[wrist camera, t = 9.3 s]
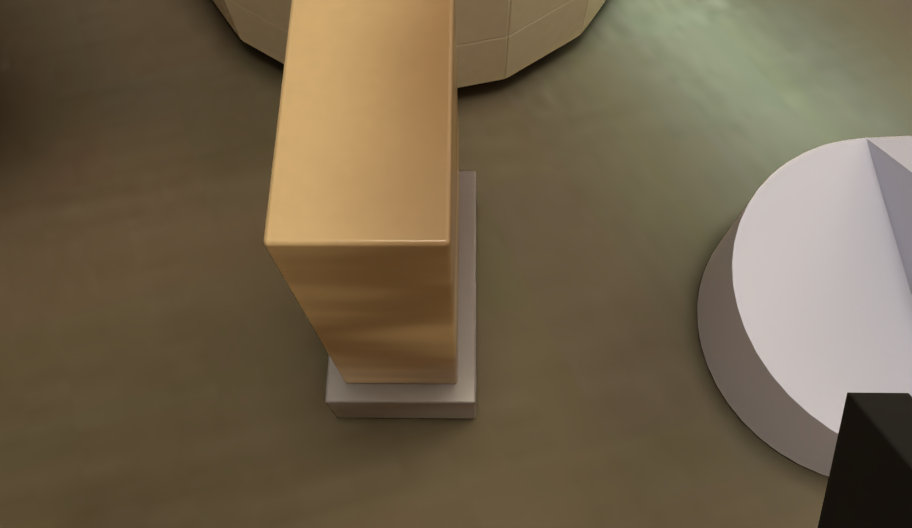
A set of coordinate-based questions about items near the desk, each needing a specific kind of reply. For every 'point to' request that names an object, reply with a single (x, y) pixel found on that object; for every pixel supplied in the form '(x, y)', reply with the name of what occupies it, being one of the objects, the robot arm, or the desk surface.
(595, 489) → the desk surface
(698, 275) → the desk surface
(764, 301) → the wedge on round base
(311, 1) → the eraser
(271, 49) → the bowl
